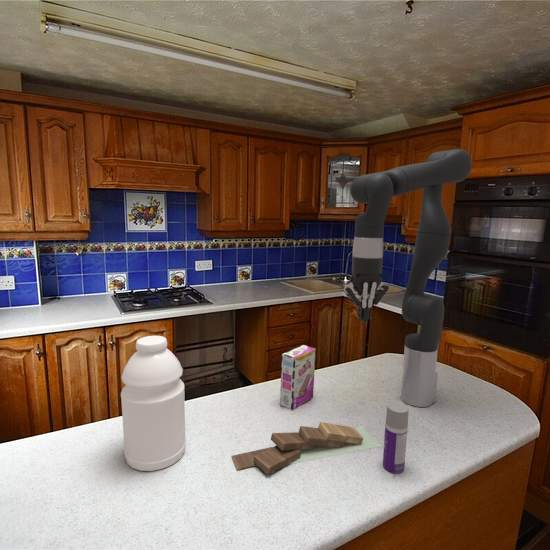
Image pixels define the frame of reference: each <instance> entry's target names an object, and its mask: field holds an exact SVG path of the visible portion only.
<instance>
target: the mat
mask: <svg viewBox="0 0 550 550" xmlns="http://www.w3.org/2000/svg"><path fill="white" fill-rule="evenodd" d="M353 427H354V426H353ZM354 428H355V429H356V431H357V432H358V433H359V434H360V435H361V436H362V438H363V441H362V444H355V443H348V442H344V445H343V448H339V447H330V446H321V445H316V447H315V449H299V450H300V451H301V455H300V458H299V459H297V460H295V461H293V462H291V463H289V465H293V464H295V465H296V464H299V463H304V462H309V461H315V460H319V459H320V460H321V459H325V458H328V457H333V456H334V457H335V456H339V455H344V454H349V453H355V452H358V451H363V450H368V449H374V448H379V447H382V444H381V443H380V442H379V441H378V440H377V439H376V438H375V437H374V436H373V435H372V434H371V433H370V432H369V431H368V430H367V429H366V427H364V425H361V426H359V425H358V426H355V427H354Z"/></svg>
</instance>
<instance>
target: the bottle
mask: <svg viewBox="0 0 550 550" xmlns="http://www.w3.org/2000/svg"><path fill="white" fill-rule="evenodd" d="M135 350H136V351H135V352H133V354H132V356H130V358H129V359H128V360H127V363H126V365H125V366H124V369H123V370H122V371H123V372H122V375H121V381H122V383H123V384H124V385H125V386H123V388H122V389H121V392H120V399H121V401H120V402H121V413H122V431H123V433H122V434H123V446H124V447H123V448H124V449H123V453H124V458H125V461H126V464H127V465H128V466H129V467H130V468H132V469H134V470H137V471H141V472H142V471H143V472H144V471H145V472H153V471H158V470H162V469H165V468H168V467H169V466H172V465H174V464H175V463H176V462H178V461H179V460H181V458H182V457H183V455H184V454H185V452H186V442H187V439H186V411H185V409H186V408H185V389H186V388H185V383H184V381H182V379H181V377H182V376H183V370H184V368H183V367H182V365H181V362H180V361H179V359H178V358H177V356H175V354H174V353H173V352H172V351H171V350H170V349H168V339H167V338H166V337H165V336H163V335H147V336H142V337H140V338H138V339H137V341H136V342H135Z"/></svg>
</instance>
